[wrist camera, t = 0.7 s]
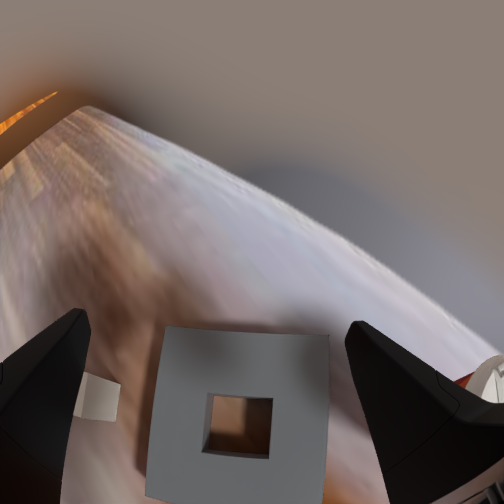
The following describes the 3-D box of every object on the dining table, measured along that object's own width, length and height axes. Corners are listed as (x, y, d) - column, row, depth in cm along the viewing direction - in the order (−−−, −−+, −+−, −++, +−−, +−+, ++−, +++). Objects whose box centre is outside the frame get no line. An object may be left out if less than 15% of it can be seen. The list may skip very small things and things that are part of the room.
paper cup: (367, 404, 21) (457, 379, 10) (432, 378, 22) (531, 330, 10) (381, 476, 17) (474, 505, 5) (446, 445, 17) (550, 433, 6)
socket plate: (314, 505, 16) (320, 515, 14) (157, 489, 17) (144, 496, 15) (322, 344, 25) (329, 334, 22) (175, 335, 26) (166, 325, 23)
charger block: (115, 421, 21) (79, 417, 16) (83, 410, 21) (45, 402, 16) (120, 384, 23) (86, 372, 18) (89, 375, 24) (53, 360, 18)
